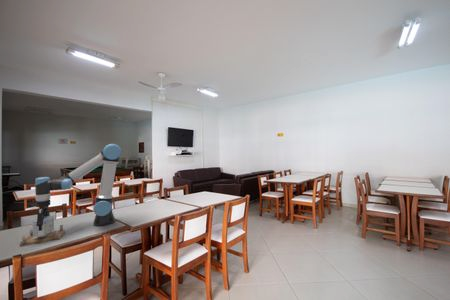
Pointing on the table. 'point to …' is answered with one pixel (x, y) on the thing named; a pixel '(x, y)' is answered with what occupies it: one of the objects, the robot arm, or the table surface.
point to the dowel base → (49, 237)
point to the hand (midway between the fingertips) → (43, 231)
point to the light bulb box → (48, 226)
